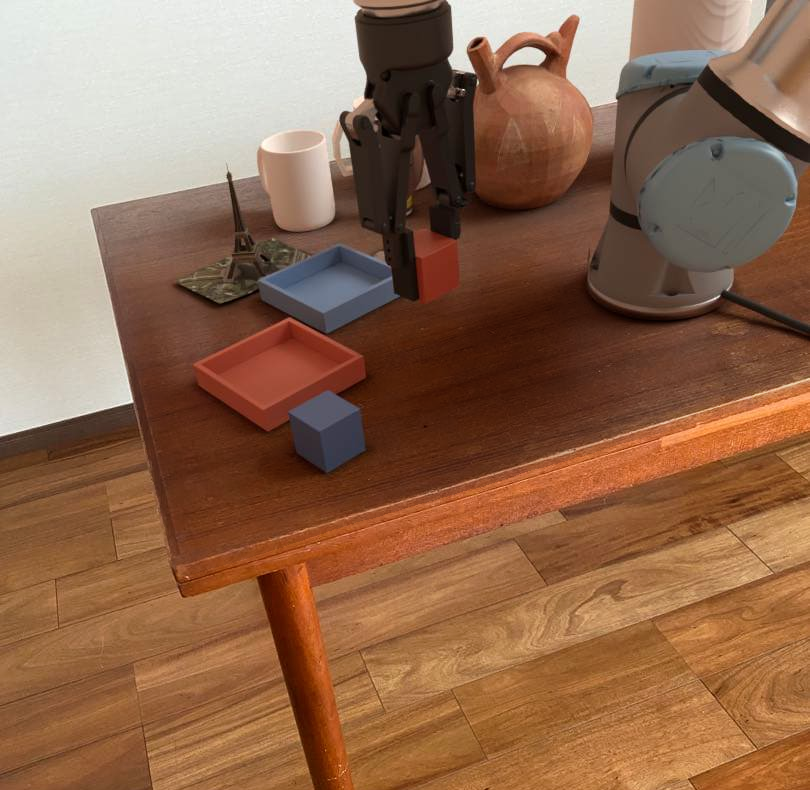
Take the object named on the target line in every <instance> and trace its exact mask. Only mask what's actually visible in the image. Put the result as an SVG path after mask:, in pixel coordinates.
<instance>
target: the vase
mask: <svg viewBox="0 0 810 790" xmlns="http://www.w3.org/2000/svg"><path fill="white" fill-rule="evenodd" d="M752 5H753V0H633V7H632V8H633V9H632V18H631V19H632V20H631V32H630V41H629V42H630V43H629V53H628V54H629V56H628V62H629V61H630V60H632V59H635V58H637V57H641V56H645V55H650V54H656V53H663V52H672V51H686V50H721V51H731V52H736V51H738V50H739V49H741V48H742V47H743V46H744V44H745V43H746V41H747V40H748V34H749V33H748V32H749V26H750V25H749V24H750V18H751V12H752V7H753V6H752Z"/></svg>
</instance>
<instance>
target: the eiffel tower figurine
mask: <svg viewBox="0 0 810 790" xmlns="http://www.w3.org/2000/svg"><path fill="white" fill-rule="evenodd" d="M225 165H226V170H227V172H226V175H225V176H226V177H225V178H226V179H227V182H228V188H229V194H230V202H231V207H232V215H233V224H234V230H233V234H234V246H233V249H232V252H231V255H229V256H227V257H225V258H222V259H220V260H217V261H215V262H213V263H211V264H208V265H206V266H203V267H202V268H200V269H197V270H195V271H194V272H191V273H190V274H188V275H185V276H183V277H182V278H179V279H177V280H174V282H175V283H177V284H178V285H181V286H182V287H184V288H186V289H188V290H191V291H192V292H195V293H196V294H199V295H201V296H203V297H206V298H208V299H210V300H212V301H213V302H216V303H218V304H223V303H225V302H229V301H232V300H235V299H238V298H241V297H244V296H245V295H248V294H251V293H253V292H256V291H257V290H259V285H258V280H259V279H261V278H263V277H266V276H268V275H270V274H272V273H275V272H277V271H279V270H281V269H283V268H286V267H288V266H290V265H292V264H294V263H297V262H299V261H301V260H303V259H305V258H308V257H310V256H311V255H308V254H306V253H304V252H302V251H300V250H299V249H296V248H294V247H293V246H290V245H288V244H286V243H284V242H283V241H280V240H278V239H277V238H274V237H270V238H268V239H265V240H263V241H261V242H258V241H255V240H254V239H253V237H252V235H251V232H250V231H249V226H247V225H246V222H245V219H244V217H243V213H242V210H241V207H240V202H239V199H238V196H237V193H236V189H235V186H234V182H233V174H232V173H231V172H230V171H229V167H228V163H227V162H226V163H225ZM242 239H243V241H244V242H243V241H242Z"/></svg>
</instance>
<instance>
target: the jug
mask: <svg viewBox="0 0 810 790" xmlns="http://www.w3.org/2000/svg"><path fill="white" fill-rule="evenodd" d="M579 24H580V17H579V16H578V15H577V14H572V15H570V16H569V17H567V18H566V20H564V22H563V23H562V24H561V25H560V27H559V29H558V30H557V31H555V30H554V31H551V32H550V33H548V34H547V35H545V36H543V35H541V34H540V33H537V32H532V31H523V32H518V33H516V34H514V35H512V36H511V37H510V38H508V39H507V40H506V41H504V42H503V44H502V45H501V46H500V47H499V48H498V49H497V50H496V51H495V52H493V50H492V46H491V43H490V42H489V40H488V37H486V36H477V37H474V38H473V39H471V40H470V41H469V43H468V44H467V46H466V55H467V58H468V60H469V62H470V64H471V66H472V68H473V69H472V70H473V71H474V74H476V76H477V82H478V83H477V86H476V91H475V97H474V102H473V112H474V140H475V168H476V188H475V190H474V192H473V193H475V194H476V196H478V198H479V199H480V200H481V201H482V202H483V203H485V204H487V205H489V206H492V207H495V208H500V209H507V210H511V211H512V210H513V211H517V210H518V211H519V210H530V209H537V208H541V207H545V206H548V205H551V204H553V203H555V202H557V201H559V200H560V199H561V198H562V197H563V196H564V195H565V194H566V192H567V190H569V188H570V187H571V185H572V184H573V183H574V182H575V180H576V179H577V177H578V176H579V174H580V173H581V171H582V170H583V168H584V166H585V164H586V163H587V161H588V157H589V154H590V151H591V147H592V143H593V138H594V137H593V136H594V123H595V121H594V119H595V118H594V115H593V111H592V108H591V106H590V104H589V102H588V100H587V98H586V97H585V96H584V94H583V92H581V91H580V89H579V88H578V87H577V86H576V85H574V84H573V83H572V81H570V80H569V79H568V78H567V67H568V64H569V60H570V57H571V56H570V55H571V53H572V47H573V44H574V40H575V36H576V33H577V30H578V27H579ZM524 48H525V49H526V48H533V49H537V50H539V51H541V52H542V53H543V54H544V55H545V58H544V59H543V61H542V62H540V63H539V64H537V65H536V64H525V63H524V64H512V65H509V66H507V67H504V65H505V64H506V62H507V61H508V60H509V58H510V57H511V56H512V55H514V54H515V53H516V52H518V51H520V50H522V49H524ZM461 176H463V173H461Z"/></svg>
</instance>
